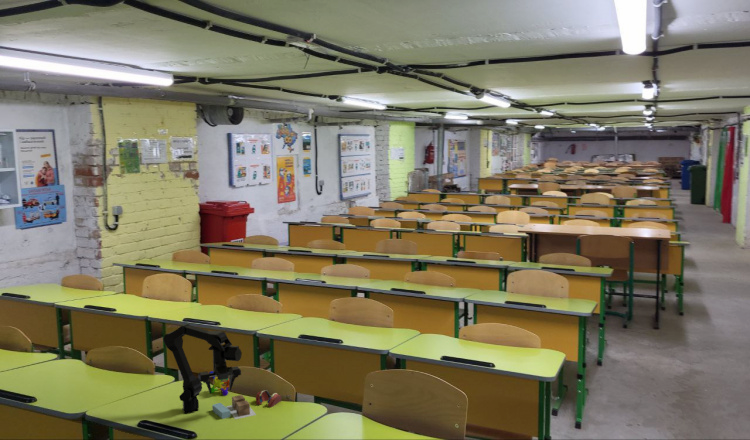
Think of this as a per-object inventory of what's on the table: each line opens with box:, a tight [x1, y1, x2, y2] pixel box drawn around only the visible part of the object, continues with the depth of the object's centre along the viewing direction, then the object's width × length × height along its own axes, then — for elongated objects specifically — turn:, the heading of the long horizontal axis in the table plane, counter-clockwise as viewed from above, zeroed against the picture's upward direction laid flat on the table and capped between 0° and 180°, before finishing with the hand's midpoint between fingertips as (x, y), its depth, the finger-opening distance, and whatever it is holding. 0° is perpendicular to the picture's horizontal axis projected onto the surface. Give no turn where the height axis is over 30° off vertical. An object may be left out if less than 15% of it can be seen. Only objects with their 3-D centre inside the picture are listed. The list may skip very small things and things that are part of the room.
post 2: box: [236, 399, 251, 417], centre depth 277 cm, size 5×5×5 cm
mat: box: [225, 404, 257, 420], centre depth 281 cm, size 10×17×1 cm, turn 28°
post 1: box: [231, 394, 246, 410], centre depth 284 cm, size 5×5×5 cm
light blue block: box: [211, 402, 232, 420], centre depth 278 cm, size 12×4×4 cm, turn 37°
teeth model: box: [255, 390, 282, 408], centre depth 290 cm, size 8×6×12 cm
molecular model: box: [208, 370, 230, 397], centre depth 304 cm, size 12×7×12 cm, turn 64°
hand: (220, 391), depth 277 cm, fingers open, 9 cm apart
